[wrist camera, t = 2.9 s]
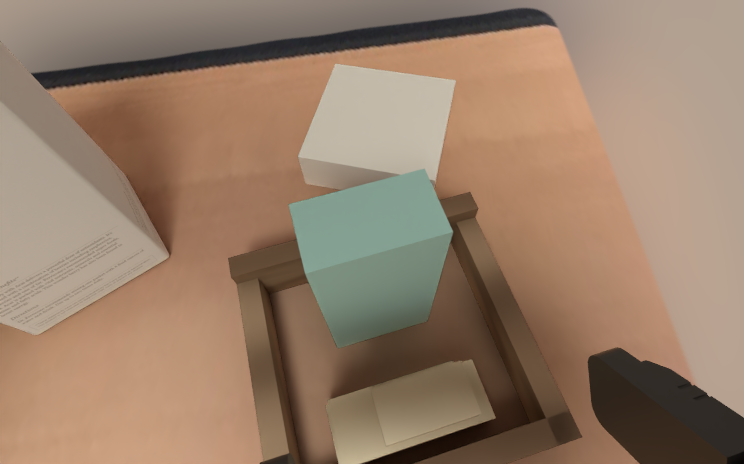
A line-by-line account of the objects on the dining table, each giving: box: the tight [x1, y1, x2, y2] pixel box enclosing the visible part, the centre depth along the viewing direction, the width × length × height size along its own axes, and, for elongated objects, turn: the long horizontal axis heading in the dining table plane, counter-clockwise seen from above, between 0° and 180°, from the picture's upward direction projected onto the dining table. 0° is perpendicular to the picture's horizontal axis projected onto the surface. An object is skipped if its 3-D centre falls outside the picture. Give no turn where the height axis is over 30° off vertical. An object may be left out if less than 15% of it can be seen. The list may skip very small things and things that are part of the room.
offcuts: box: [326, 359, 496, 464], centre depth 21 cm, size 3×8×4 cm, turn 107°
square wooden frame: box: [228, 192, 582, 464], centre depth 22 cm, size 14×14×4 cm
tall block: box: [289, 169, 453, 348], centre depth 20 cm, size 3×6×11 cm, turn 107°
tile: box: [298, 64, 456, 190], centre depth 30 cm, size 9×9×3 cm
